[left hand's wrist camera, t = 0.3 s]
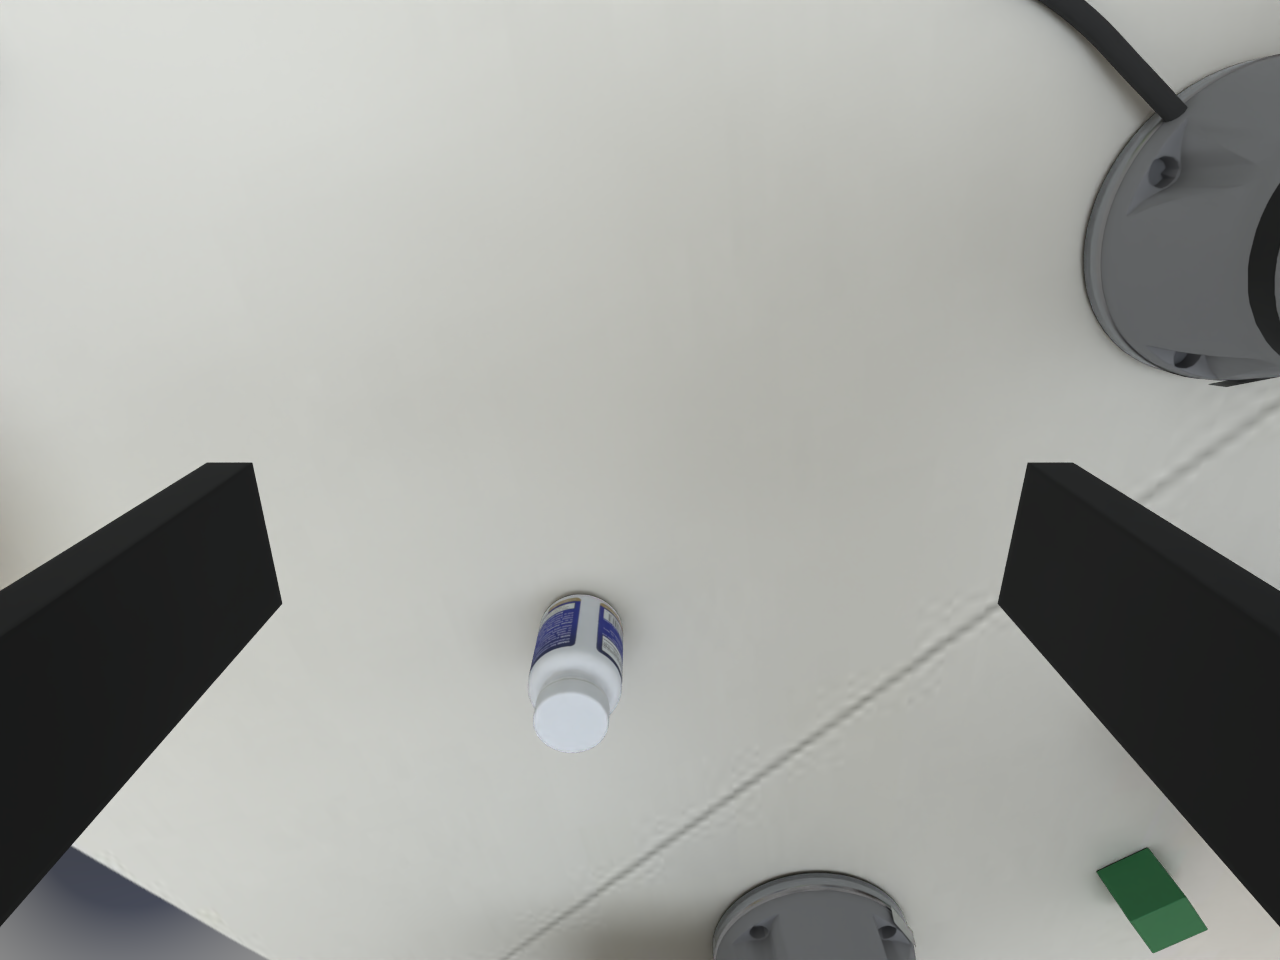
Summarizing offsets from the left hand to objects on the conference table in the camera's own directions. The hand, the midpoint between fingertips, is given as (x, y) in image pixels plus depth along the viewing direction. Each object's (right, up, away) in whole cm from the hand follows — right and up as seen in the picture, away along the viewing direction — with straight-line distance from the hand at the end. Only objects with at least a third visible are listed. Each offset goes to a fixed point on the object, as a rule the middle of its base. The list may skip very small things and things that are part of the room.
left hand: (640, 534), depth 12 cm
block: (+37, -29, +42) cm, 63 cm away
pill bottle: (-4, -8, +33) cm, 35 cm away
